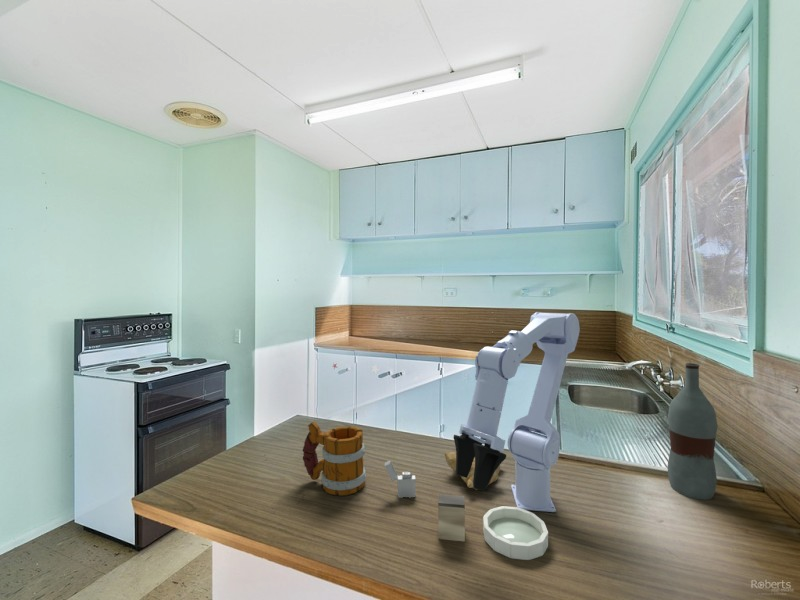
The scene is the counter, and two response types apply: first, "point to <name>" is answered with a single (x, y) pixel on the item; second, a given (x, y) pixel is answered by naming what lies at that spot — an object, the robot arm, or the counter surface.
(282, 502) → the counter surface
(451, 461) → the ginger root
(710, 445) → the bottle
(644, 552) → the counter surface
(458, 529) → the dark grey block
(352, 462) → the mug
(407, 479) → the lighter
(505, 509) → the dish
